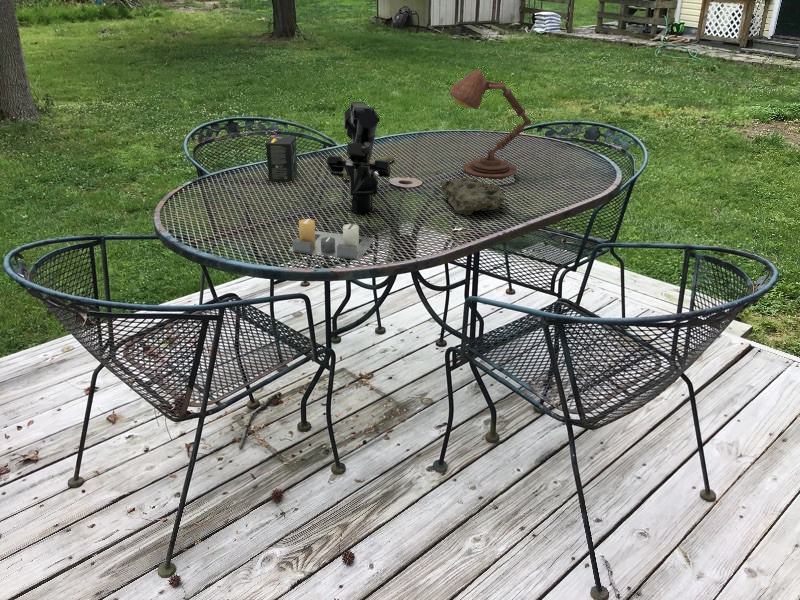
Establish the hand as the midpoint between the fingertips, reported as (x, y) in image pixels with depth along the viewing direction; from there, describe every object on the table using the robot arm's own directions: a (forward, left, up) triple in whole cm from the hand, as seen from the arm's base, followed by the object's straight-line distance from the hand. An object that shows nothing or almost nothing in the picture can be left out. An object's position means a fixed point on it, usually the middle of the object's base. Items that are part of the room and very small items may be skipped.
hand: (353, 191), depth 191 cm
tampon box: (-19, -59, -14) cm, 63 cm away
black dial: (+15, +5, -12) cm, 20 cm away
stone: (-48, +10, -14) cm, 51 cm away
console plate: (+11, +3, -14) cm, 18 cm away
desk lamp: (-77, -7, -14) cm, 78 cm away
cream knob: (+11, +10, -12) cm, 19 cm away
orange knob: (+17, -1, -12) cm, 21 cm away
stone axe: (-48, -44, -14) cm, 67 cm away
